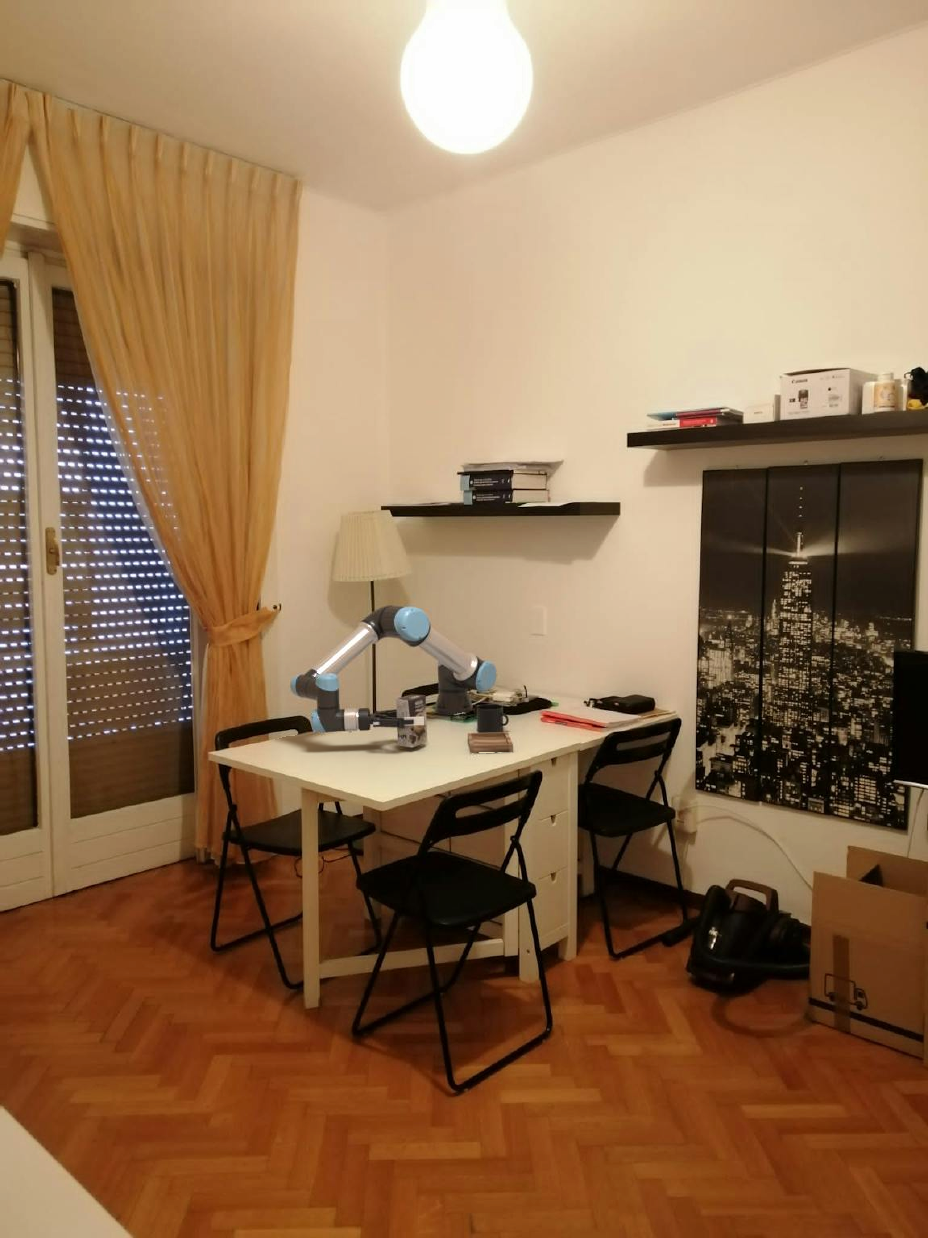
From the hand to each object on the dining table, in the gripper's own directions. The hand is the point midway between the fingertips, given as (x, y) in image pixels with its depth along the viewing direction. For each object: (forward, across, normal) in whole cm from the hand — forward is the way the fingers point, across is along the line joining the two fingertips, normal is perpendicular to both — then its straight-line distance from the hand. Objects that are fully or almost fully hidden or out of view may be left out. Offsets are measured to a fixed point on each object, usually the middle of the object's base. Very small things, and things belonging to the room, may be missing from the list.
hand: (424, 717), depth 305 cm
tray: (+22, +1, -11) cm, 24 cm away
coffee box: (-4, 0, -9) cm, 10 cm away
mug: (+25, -20, -11) cm, 34 cm away
